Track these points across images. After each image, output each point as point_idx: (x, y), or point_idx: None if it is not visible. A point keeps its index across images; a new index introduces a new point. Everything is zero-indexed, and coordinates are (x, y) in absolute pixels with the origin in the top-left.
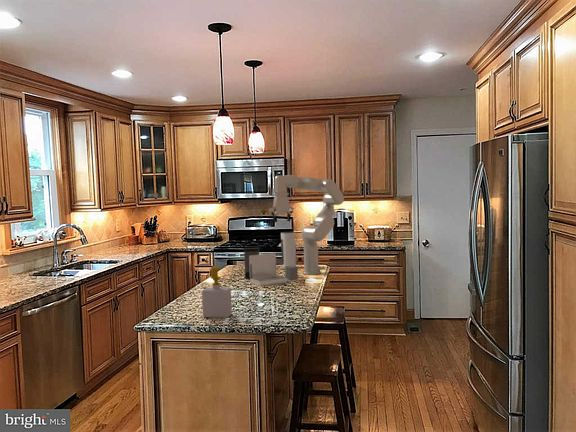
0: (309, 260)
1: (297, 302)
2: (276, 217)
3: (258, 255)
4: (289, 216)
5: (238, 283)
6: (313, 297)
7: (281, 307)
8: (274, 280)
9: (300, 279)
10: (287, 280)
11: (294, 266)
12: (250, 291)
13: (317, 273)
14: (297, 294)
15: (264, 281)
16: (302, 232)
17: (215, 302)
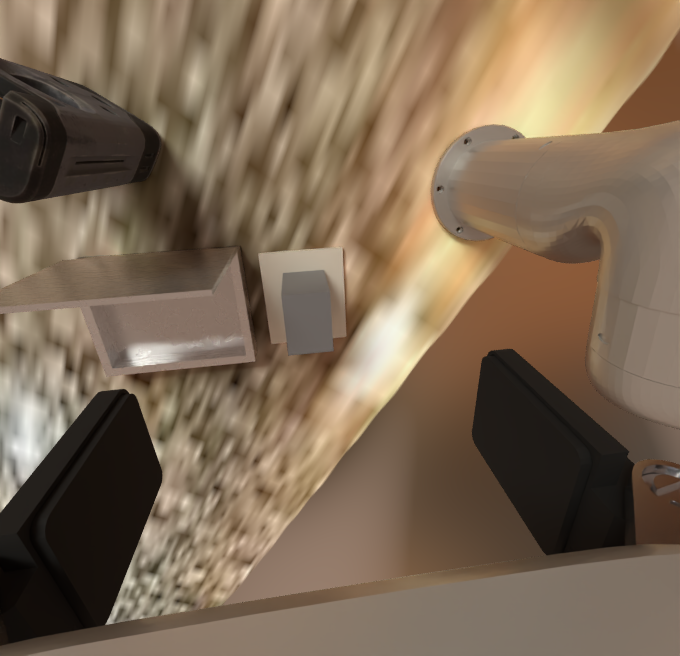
0: (490, 231)
1: (187, 582)
2: (106, 592)
3: (50, 307)
4: (537, 530)
5: (3, 224)
6: (251, 556)
7: (129, 605)
8: (187, 367)
9: (337, 327)
10: (274, 318)
11: (324, 334)
12: (59, 420)
13: (485, 239)
14: (222, 516)
15: (131, 373)
16: (662, 188)
17: None
